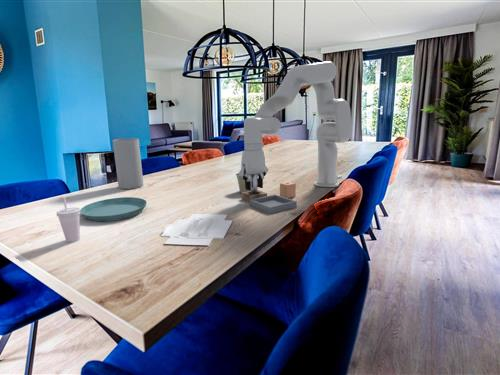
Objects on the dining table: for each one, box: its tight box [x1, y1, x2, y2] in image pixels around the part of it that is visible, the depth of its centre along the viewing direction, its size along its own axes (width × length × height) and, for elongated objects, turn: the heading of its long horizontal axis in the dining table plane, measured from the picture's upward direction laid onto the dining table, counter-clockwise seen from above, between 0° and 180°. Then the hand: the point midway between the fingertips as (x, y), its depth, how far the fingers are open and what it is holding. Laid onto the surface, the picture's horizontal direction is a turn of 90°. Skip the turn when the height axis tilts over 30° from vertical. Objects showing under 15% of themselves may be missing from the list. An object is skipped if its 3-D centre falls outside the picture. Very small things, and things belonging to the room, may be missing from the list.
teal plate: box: [79, 196, 147, 222], centre depth 125 cm, size 24×24×3 cm
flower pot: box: [235, 172, 251, 193], centre depth 152 cm, size 9×9×9 cm
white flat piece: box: [160, 213, 233, 247], centre depth 106 cm, size 20×28×4 cm
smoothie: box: [56, 196, 81, 243], centre depth 97 cm, size 6×6×14 cm
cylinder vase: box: [112, 137, 144, 190], centre depth 165 cm, size 12×12×25 cm
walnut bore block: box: [241, 190, 268, 203], centre depth 139 cm, size 8×8×3 cm
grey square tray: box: [249, 194, 298, 214], centre depth 129 cm, size 14×14×2 cm
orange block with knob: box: [279, 181, 297, 199], centre depth 143 cm, size 5×5×6 cm
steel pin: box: [251, 174, 259, 195], centre depth 138 cm, size 3×3×12 cm
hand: (254, 188), depth 138 cm, fingers open, 5 cm apart
